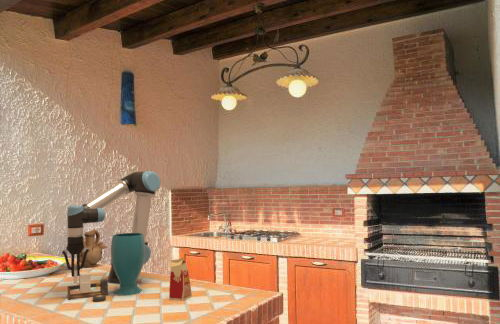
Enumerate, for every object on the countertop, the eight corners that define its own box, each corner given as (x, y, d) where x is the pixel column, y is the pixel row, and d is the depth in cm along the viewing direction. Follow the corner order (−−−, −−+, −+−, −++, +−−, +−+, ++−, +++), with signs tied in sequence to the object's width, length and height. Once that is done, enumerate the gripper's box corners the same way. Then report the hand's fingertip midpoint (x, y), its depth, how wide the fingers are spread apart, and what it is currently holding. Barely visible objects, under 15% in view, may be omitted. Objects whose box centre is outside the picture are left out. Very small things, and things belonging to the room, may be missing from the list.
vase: (134, 286, 247) (134, 232, 249) (151, 291, 235) (151, 234, 236) (105, 292, 235) (105, 235, 237) (121, 297, 223) (121, 237, 224)
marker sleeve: (89, 289, 231) (89, 272, 231) (90, 291, 227) (90, 274, 227) (79, 290, 228) (79, 273, 229) (80, 292, 224) (80, 275, 225)
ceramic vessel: (72, 266, 310) (72, 230, 311) (99, 262, 322) (99, 227, 323) (80, 270, 296) (80, 232, 297) (109, 266, 308) (109, 230, 308)
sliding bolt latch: (106, 292, 235) (106, 278, 236) (108, 295, 229) (108, 281, 229) (67, 296, 227) (67, 282, 227) (68, 299, 221) (68, 285, 221)
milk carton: (191, 296, 225) (191, 256, 226) (183, 300, 216) (182, 259, 217) (175, 294, 228) (175, 255, 228) (166, 299, 219) (166, 258, 220)
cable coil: (104, 298, 223) (104, 293, 223) (106, 300, 218) (106, 296, 218) (92, 299, 220) (92, 295, 221) (93, 302, 215) (93, 298, 215)
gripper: (88, 234, 233) (88, 279, 232) (61, 236, 227) (61, 282, 226) (89, 235, 226) (90, 282, 225) (62, 237, 220) (62, 286, 220)
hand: (75, 282), depth 226 cm, fingers closed
